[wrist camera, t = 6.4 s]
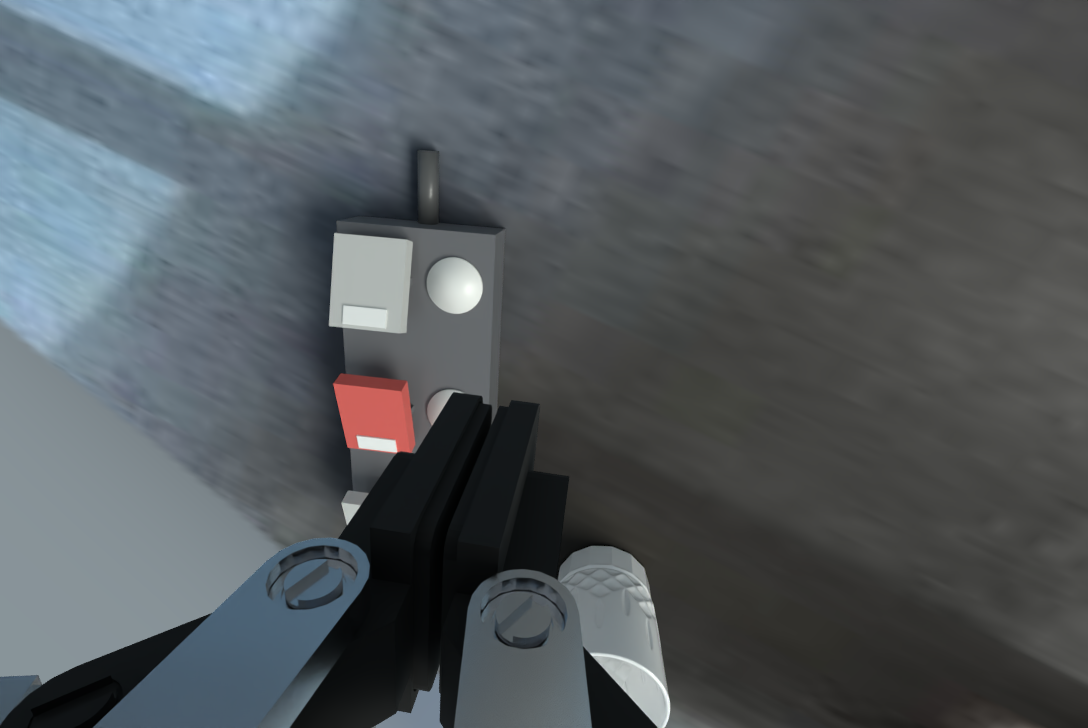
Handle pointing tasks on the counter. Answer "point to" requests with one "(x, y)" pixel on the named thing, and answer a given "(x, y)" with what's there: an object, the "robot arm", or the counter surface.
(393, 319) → the outlet rocker
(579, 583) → the white cup
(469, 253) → the power strip
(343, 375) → the outlet rocker
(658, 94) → the counter surface
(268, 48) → the counter surface
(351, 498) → the rocker outlet
